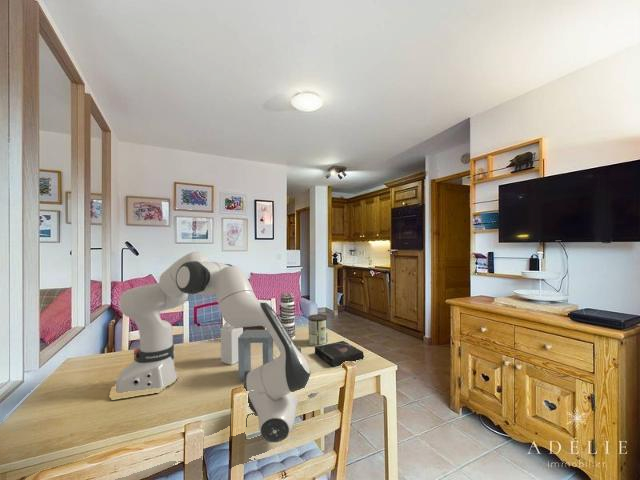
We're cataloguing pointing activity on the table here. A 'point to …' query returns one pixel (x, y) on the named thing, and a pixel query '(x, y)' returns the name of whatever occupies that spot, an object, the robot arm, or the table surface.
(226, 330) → the milk carton
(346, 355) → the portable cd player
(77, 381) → the table surface
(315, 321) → the coffee can
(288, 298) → the white and brown cylinder
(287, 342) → the robot arm
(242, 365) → the frame
